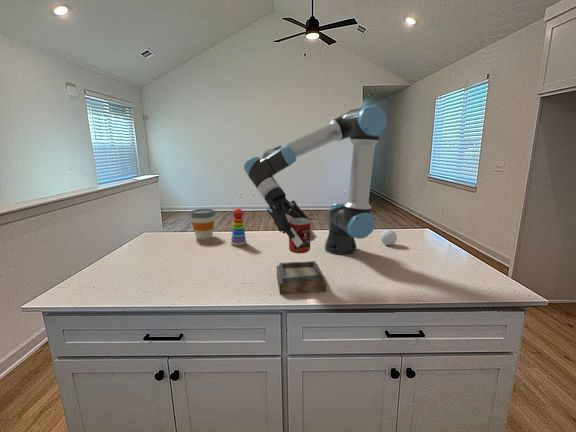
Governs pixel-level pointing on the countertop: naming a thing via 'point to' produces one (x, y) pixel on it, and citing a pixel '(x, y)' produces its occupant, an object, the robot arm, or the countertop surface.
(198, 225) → the reusable coffee cup
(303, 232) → the canned food
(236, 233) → the stacking toy
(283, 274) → the square wooden tray
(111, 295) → the countertop surface
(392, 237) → the ball
